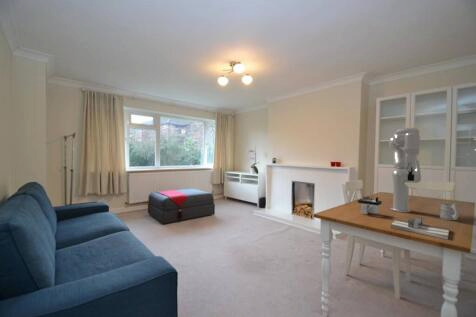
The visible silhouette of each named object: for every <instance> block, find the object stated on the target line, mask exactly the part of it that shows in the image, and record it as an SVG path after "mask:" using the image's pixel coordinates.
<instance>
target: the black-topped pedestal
mask: <svg viewBox="0 0 476 317" xmlns="http://www.w3.org/2000/svg"><path fill="white" fill-rule="evenodd" d="M357 203H358V204H360V206H361V207H360V214H361V213H362V214H363V215H368V213H369V214H376V215H378V212H379V210H378V208H379V206H381V205H382V200H379V196H377V197H374V199H373V198H372V197H371V196H364V195H362V197H361V198H360V199H358V200H357Z"/></svg>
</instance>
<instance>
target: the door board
mask: <svg viewBox="0 0 476 317" xmlns="http://www.w3.org/2000/svg"><path fill="white" fill-rule="evenodd" d="M415 220H416V219H414V218H409V219H405V218H399V217H397V218H396V219H395V220H394V221H393V222H392V223H391V224H390V229H396V230H400V231H406V232H409V233H415V234H421V235H425V236H429V237H435V238H439V239H444V240H448V239H449V233H450V227H449V226H444V225H438V224H433V223H428V222H422V224H421V225H420V227H419V228H414V221H415Z"/></svg>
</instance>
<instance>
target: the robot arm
mask: <svg viewBox="0 0 476 317" xmlns="http://www.w3.org/2000/svg"><path fill="white" fill-rule="evenodd" d="M420 136H421V135H420V130H419V129H418V128H417V127H402V128H398V129H397V130H396V131H395V132H394V133H393V135H392V137H391V138H390V139H389V141H388V146H389V149H390V151H391V154H392V158H393V166H394V167H393V168H395V170H394V171H393V172H392V180H393V195H392V197H393V198H392V206H391V207H390V210H391V211H394V212H398V213H399V212H400V213H411V211H412V209H410V208H409V199H410V198H409V191H410V190H409V187H408V185H407V184H406V183H409V184H410V183H411V184H412V183H413V184H416V183H420V182H421V181H422V173H421V168H420V162H419V160H418V159H417V158H418V157H417V155H420V142H421V137H420ZM402 148H403V149H402Z"/></svg>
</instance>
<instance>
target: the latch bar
mask: <svg viewBox="0 0 476 317" xmlns="http://www.w3.org/2000/svg"><path fill="white" fill-rule="evenodd" d="M422 223H423V218H422V217H421V216H418V217H416V219H415V221H414V228H419V227H420V225H421V224H422Z"/></svg>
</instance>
